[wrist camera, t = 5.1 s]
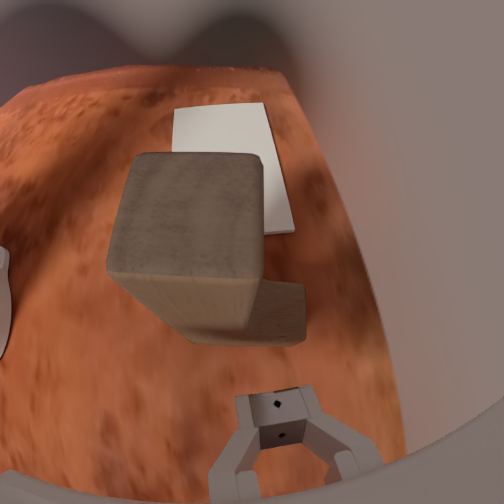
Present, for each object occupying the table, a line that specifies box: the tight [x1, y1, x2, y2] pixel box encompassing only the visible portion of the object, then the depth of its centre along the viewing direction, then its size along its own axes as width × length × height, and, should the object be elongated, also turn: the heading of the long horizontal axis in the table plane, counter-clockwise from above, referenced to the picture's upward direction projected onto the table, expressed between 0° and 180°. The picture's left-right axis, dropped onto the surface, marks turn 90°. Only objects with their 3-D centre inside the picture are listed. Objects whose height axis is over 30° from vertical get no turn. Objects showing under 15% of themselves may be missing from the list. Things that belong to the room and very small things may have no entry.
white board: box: [172, 103, 295, 235], centre depth 31 cm, size 20×12×1 cm, turn 8°
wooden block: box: [106, 152, 306, 347], centre depth 16 cm, size 9×4×18 cm, turn 89°
